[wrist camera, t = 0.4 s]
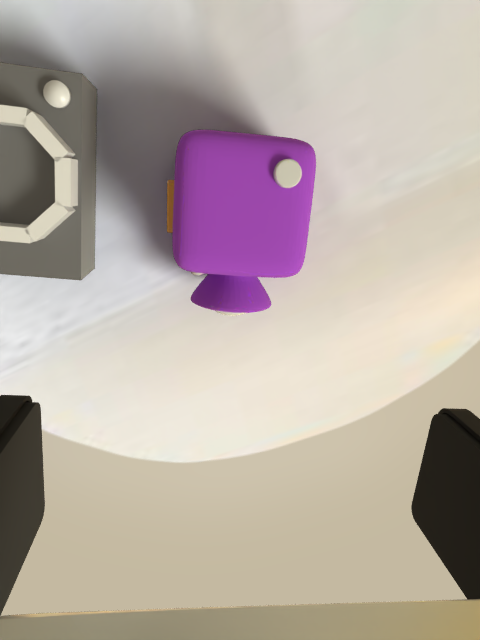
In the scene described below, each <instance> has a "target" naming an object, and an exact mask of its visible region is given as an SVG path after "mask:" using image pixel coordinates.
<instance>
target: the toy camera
mask: <svg viewBox="0 0 480 640" xmlns="http://www.w3.org/2000/svg"><path fill="white" fill-rule="evenodd" d="M315 170H316V157H315V152H314V149H313V148H312V146H311V145H309V144H308V143H306V142H304V141H301V140H297V139H292V138H285V137H277V136H267V135H257V134H247V133H237V132H227V131H217V130H193V131H189V132H187V133H185V134H184V135H183V136H182V137H181V139H180V141H179V143H178V146H177V151H176V160H175V179H174V180H168V182H167V232H169V233H173V236H172V246H173V255H174V259H175V261H176V263H177V265H178V266H179V267H181V268H182V269H184V270H187V271H190V272H191V273H192V274H194V275H202V274H203V273H205V274H208V275H207V276H206V277H205V279H204V280H203V281H202V282H201V283H200V284H199V286H198V287H197V288H196V290H195V291H194V292H193V294H192V296H191V301H192V302H193V303H195V304H197V305H198V306H201V307H204V308H207V309H211V310H215V311H216V312H218V313H220V314H224V315H229V316H237V315H242V314H244V313H249V312H258V311H262V310H265V309H267V308H269V307H270V306H271V301H270V298H269V296H268V294H267V293H266V291H265V289H264V287H263V286H262V284H261V283H260V281H259V279H258V278H257V277H274V278H277V277H290V276H293V275H295V274H297V273H298V272H299V271H300V269H301V268H302V265H303V262H304V258H305V252H306V246H307V238H308V230H309V222H310V214H311V206H312V198H313V189H314V180H315Z"/></svg>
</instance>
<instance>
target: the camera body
mask: <svg viewBox="0 0 480 640" xmlns="http://www.w3.org/2000/svg"><path fill="white" fill-rule="evenodd" d="M96 129H97V89H96V88H95V87H94V86H93V85H92V84H91V83H90V82H89V81H88V79H87V78H86V77H85V76H84V75H83V74H80V73H73V72H66V71H58V70H51V69H44V68H37V67H30V66H22V65H15V64H8V63H1V62H0V274H8V275H21V276H33V277H46V278H59V279H72V280H82V279H83V278H84V277H85V276H87V275H88V274H89V273H90V272H91V271H92V270H93V269H95V206H96Z"/></svg>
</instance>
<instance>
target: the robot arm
mask: <svg viewBox="0 0 480 640" xmlns="http://www.w3.org/2000/svg"><path fill="white" fill-rule="evenodd" d="M44 506H45V500H44V477H43V453H42V429H41V408H40V404H39V403H35V402H32V399H31V397H30V396H18V395H1V396H0V615H1V613H2V611H3V608H4V606H5V604H6V602H7V599H8V597H9V595H10V593H11V590H12V588H13V586H14V583H15V581H16V579H17V577H18V574H19V572H20V570H21V567H22V565H23V563H24V561H25V558H26V556H27V554H28V552H29V549H30V547H31V545H32V543H33V540H34V538H35V536H36V533H37V531H38V529H39V527H40V524H41V521H42V519H43V515H44ZM412 515H413V518H414V520H415V522H416V523H417V525H418V526H419V528H420V529H421V531H422V532H423V534H424V535H425V537H426V538H427V540H428V541H429V543H430V544H431V546H432V547H433V549H434V550H435V551H436V553H437V554H438V556H439V557H440V559H441V560H442V562H443V563H444V565H445V566H446V568H447V569H448V571H449V572H450V574H451V575H452V577H453V578H454V580H455V581H456V583H457V584H458V586H459V587H460V589H461V590H462V592H463V593H464V595H465V596H466V598H467V599H468V600H437V601H402V602H368V603H337V604H335V603H334V604H301V605H268V606H236V607H202V608H176V609H175V608H174V609H146V610H121V611H120V610H118V611H92V612H62V613H38V614H37V613H36V614H21V615H8V616H0V640H480V419H479V418H478V417H477V416H475V415H474V414H473V413H472V412H470V411H469V410H467V409H445V408H444V409H442V410H440V412H439V413H438V414H436V415H434V416H433V418H432V421H431V425H430V429H429V434H428V438H427V442H426V446H425V450H424V455H423V459H422V463H421V468H420V472H419V476H418V480H417V484H416V489H415V493H414V497H413V501H412Z"/></svg>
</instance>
